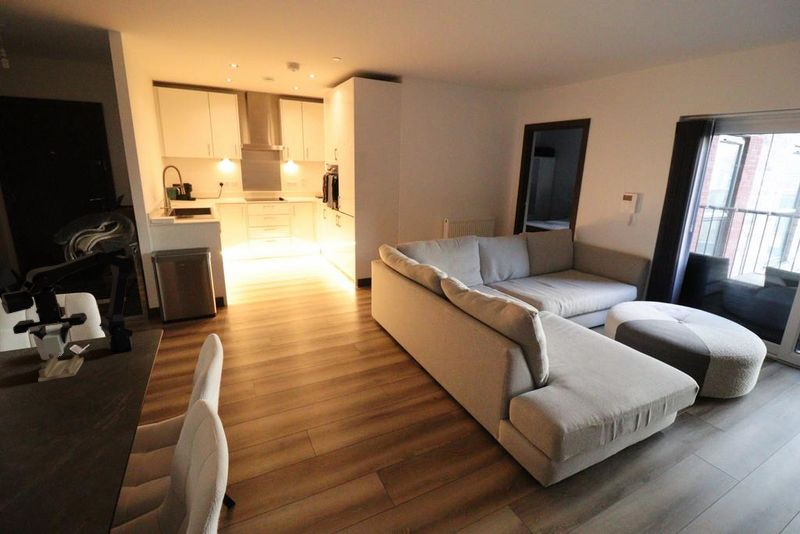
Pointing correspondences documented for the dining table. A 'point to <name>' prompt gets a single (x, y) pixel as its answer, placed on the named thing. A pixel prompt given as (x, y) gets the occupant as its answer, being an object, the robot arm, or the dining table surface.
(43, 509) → the dining table surface
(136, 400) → the dining table surface
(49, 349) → the light grey block
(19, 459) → the dining table surface
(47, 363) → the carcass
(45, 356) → the white cup
